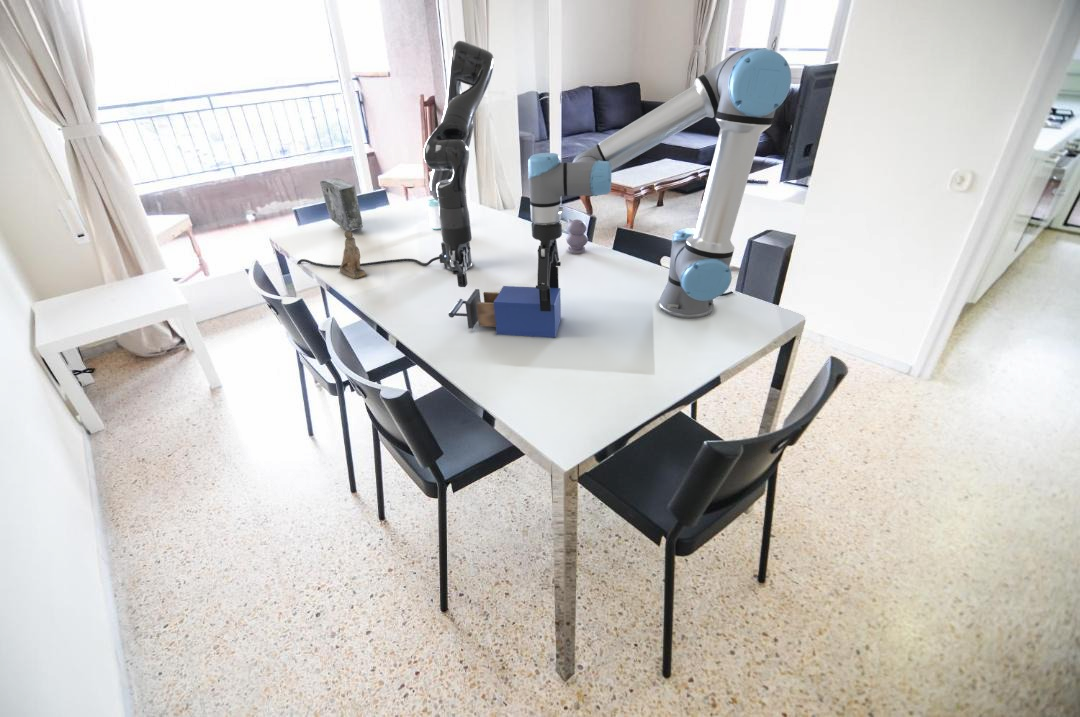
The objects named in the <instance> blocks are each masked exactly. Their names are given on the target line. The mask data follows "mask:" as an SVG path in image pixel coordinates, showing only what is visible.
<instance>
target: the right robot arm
mask: <svg viewBox="0 0 1080 717" xmlns="http://www.w3.org/2000/svg"><path fill="white" fill-rule="evenodd" d="M791 85H792V70H791V68H790V65H789V63H788V61H787V59H786V58H785V57H784V56H783V55H782V54H781V53H779V52H777V51H774V49H770V48H766V47H763V48H746V49H745V48H744V49H741V50H740V49H739V50H738V51H736V52H734V53H731V54H730V55H729V56H727V57H725V58H724V59H723V60H721V61H720V62H719V63H717V64H716V65H714V66H713V67H711V68H710V69H709V70H707V71H706V72H705V73H703V74H700V75H699V76H698V77H696V78H695V80H694V83H693V85H692V86H690V87H688V88H686V89H685V90H684V91H682V92H680V93H679V94H677V95H676V96H673V97H672V98H671V99H668V100H667V101H666V102H664V103H662V104H660V105H659V106H657V107H656V108H654V109H652V110H651V111H649V112H647V113H646V114H644V115H642V116H640V117H639V118H637V119H636V120H634V121H632V122H631V123H629V124H628V125H626V126H624V127H622V128H621V129H619V130H617V131H616V132H614V133H613V134H610V136H608V137H606V138H605V139H603V140H601V141H600V142H598V143H597V144H595V145H593V146H592V147H590V148H588V149H583V150H581V151H579V152H578V153H577V154H576V155H575V157H574V158H573V160H572V161H571V162H563V161H561V158H560V155H559V154H558V153H556V152H541V153H540V152H539V153H535V154H532V155H531V156H530V157H529V158H528V160H527V166H528V168H527V169H528V173H527V174H528V175H527V179H528V189H529V190H528V191H529V208H530V221H531V225H530V226H531V237H532V238H533V239H534V240H536V241H540V243H539V245H538V248H537V284H536V285H535V287H536V289H539V295H540V311H551V295H550V288H560V286H559V285H560V283H559V267H561V261H560V257H559V249H558V243H557V240H558V239H560V238H561V237H562V235H563V223H562V221H561V220H562V212H564V210H565V209H564V207H563V206H562V205H561V204H562V197H583V196H584V197H586V196H589V197H591V196H594V197H597V196H598V197H599V196H603V195H608V194H610V193H611V190H612V171H613V170H616V169H617V168H619V167H621V166H623V165H624V164H626V163H628V162H630V161H631V160H633V159H635V158H636V157H638V156H640V155H641V154H644V153H645V152H647V151H649V150H650V149H653V148H654V147H656V146H657V145H660V144H661V143H662V142H664V141H666V140H668V139H669V138H671V137H673V136H674V135H676V134H678V133H680V132H682V131H683V130H685V129H687V128H688V127H691V126H692V125H694V124H695V123H698V122H699V121H701V120H702V119H704V118H711V119H713V118H715V121H716V123H717V124H718V126H719V132H718V136H717V140H716V145H715V149H714V153H713V157H712V161H711V165H710V168H709V173H708V176H707V181H706V185H705V188H704V193H703V197H702V200H701V204H700V205H701V206H700V209H699V213H698V218H697V221H696V224H695V228H693V227H689V228H681V229H677V230H675V231H674V232H673V235H672V240H671V250H670V260H669V268H668V277H667V278H668V279H667V283H666V285H665V286H664V289H663V291H662V293H661V295H660V298H659V301H658V302H659V303H658V307H659V309H660V310H661V311H662V312H663V313H664V314H667V315H668V316H671V317H675V318H680V319H687V320H688V319H689V320H690V319H691V320H693V319H701V318H706V317H708V316H709V315H711V314H712V313H713V310H714V299H717V298H719V297H726V296H729V295H733V294H734V291H733V292H732V290H731V291H728V292H727V290H728V289H729V287H730V286H731V283H732V276H733V274H732V270H731V267H730V266H731V263H732V262H731V261H732V259H733V255H734V251H735V246H734V244H733V242H732V241H731V239H732V235H733V232H734V228H735V225H736V222H737V218H738V216H739V215H738V214H739V211H740V208H741V204H742V202H743V197H744V194H745V191H746V187H747V183H748V180H749V177H750V173H751V170H752V165H753V163H754V159H755V156H756V152H757V150H758V149H757V148H758V145H759V143H760V142H759V141H760V139H761V135H762V133H763V132H765V131H766V130H768V129H769V128H770V127H771V126H772V125H773V124H772V123H773V120H774V116H775V113H776V111H777V109H778V108H779V107H780V106H781V105H782V104H783V102H784V101H785V100H786V98H787V97H788V94H789V92H790V89H791Z"/></svg>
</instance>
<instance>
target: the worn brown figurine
mask: <svg viewBox="0 0 1080 717" xmlns="http://www.w3.org/2000/svg"><path fill="white" fill-rule="evenodd" d="M343 236H344V238H346V239H345V240H344V249H343V253H342V254H343V255H342V261H341V264H340V265H341V266H340V268H339V273H341V274H343V275H344V276H347V277H350V278H352V279H356V280H357V279H360V278H362V277H366V276H367V273H366V271H365V270H363V269H362V268H361V266H360V264H361V252H360V249H359V247H358V246H357V244H356V243H357V242H356V239H355V237H354V234H353V230H352V231H350V230H348V231H347V230H345V232H344V234H343Z"/></svg>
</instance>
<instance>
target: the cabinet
mask: <svg viewBox="0 0 1080 717" xmlns="http://www.w3.org/2000/svg"><path fill="white" fill-rule="evenodd" d="M498 293H499V294H498V296H497V298H496V299H495V301H494V311H495V321H496V327H495V330H496V332H495V333H496V335H498V336H499V335H500V336H501V335H502V336H518V337H533V338H534V337H536V338H551V339H552V338H556V337H557V333H558V331H559V327H560V324H561V321H562V317H561V316H562V310H561V308H562V307H561V288H560V287H559V288H550V295H551V311H540V295H539V289H536V286H514V285H503V286H502V288H501V289H500V291H499V292H498Z"/></svg>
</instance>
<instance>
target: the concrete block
mask: <svg viewBox="0 0 1080 717" xmlns="http://www.w3.org/2000/svg"><path fill="white" fill-rule="evenodd" d="M319 183H320V187H321V191H322V195H323V198H324V199H323V200H324V202H325V206H326V209H327V212H328V216H329V218H330V220H332V221H333V222H334V223H336V224H337V225H338V226H339V227H341V228H342V229H343V230H345V231H348V230H350V231H352V232H353V231H354V230H358V229H361V228H363V227H364V224H363V218H362V214H361V210H360V205H359V204H360V203H359V200H358V195H357V194H358V193H357V189H356V186H355V185H354V184H353V183H351V182H350V181H347V180H345V179H341V178H336V177H332V178H327V179H322V180H320V182H319Z"/></svg>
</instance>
